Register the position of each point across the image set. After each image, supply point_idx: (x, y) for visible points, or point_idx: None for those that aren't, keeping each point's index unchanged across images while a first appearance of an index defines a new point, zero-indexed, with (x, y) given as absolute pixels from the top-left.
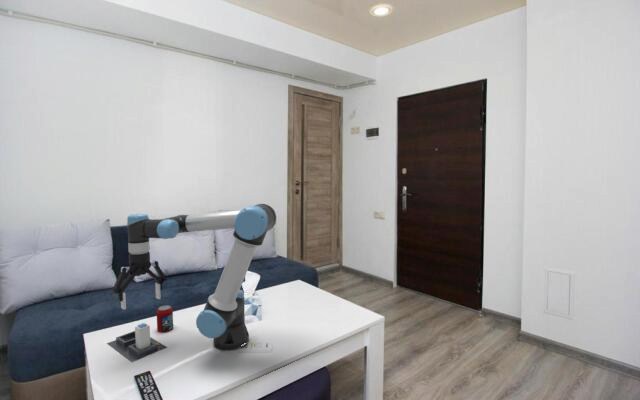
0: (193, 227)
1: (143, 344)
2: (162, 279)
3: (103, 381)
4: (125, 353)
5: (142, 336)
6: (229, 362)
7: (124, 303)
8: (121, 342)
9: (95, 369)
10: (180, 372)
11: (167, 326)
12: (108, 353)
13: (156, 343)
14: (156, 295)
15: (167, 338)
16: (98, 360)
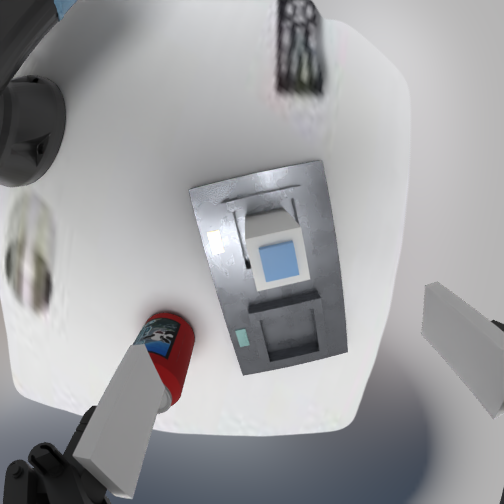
0: None
1: (274, 215)
2: (41, 489)
3: (397, 133)
4: (325, 243)
5: (281, 220)
6: (80, 20)
7: (462, 305)
8: (322, 316)
9: (402, 221)
10: (200, 27)
11: (157, 326)
12: (353, 301)
13: (222, 213)
14: (154, 395)
15: (171, 286)
16: (384, 273)
